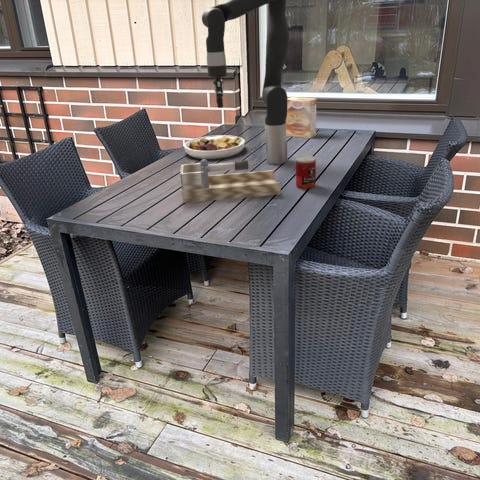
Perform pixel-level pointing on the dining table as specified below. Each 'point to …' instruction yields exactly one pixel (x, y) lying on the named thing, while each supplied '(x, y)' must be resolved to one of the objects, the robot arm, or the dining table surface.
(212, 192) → the game board
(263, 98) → the robot arm
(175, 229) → the dining table surface
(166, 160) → the dining table surface
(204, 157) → the bowl
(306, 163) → the canned food
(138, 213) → the dining table surface
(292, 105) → the coffeecake box
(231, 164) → the rod
